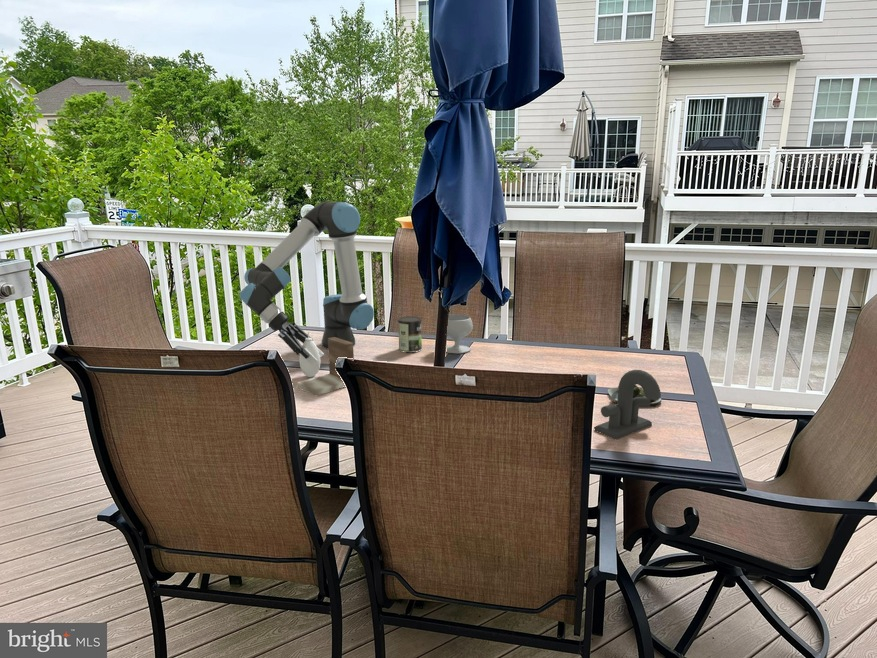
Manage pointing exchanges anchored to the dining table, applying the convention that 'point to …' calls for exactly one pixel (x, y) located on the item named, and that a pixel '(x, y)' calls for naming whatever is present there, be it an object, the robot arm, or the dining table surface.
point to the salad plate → (636, 393)
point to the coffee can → (410, 334)
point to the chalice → (458, 332)
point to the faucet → (629, 405)
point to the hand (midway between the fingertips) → (318, 359)
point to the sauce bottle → (306, 365)
